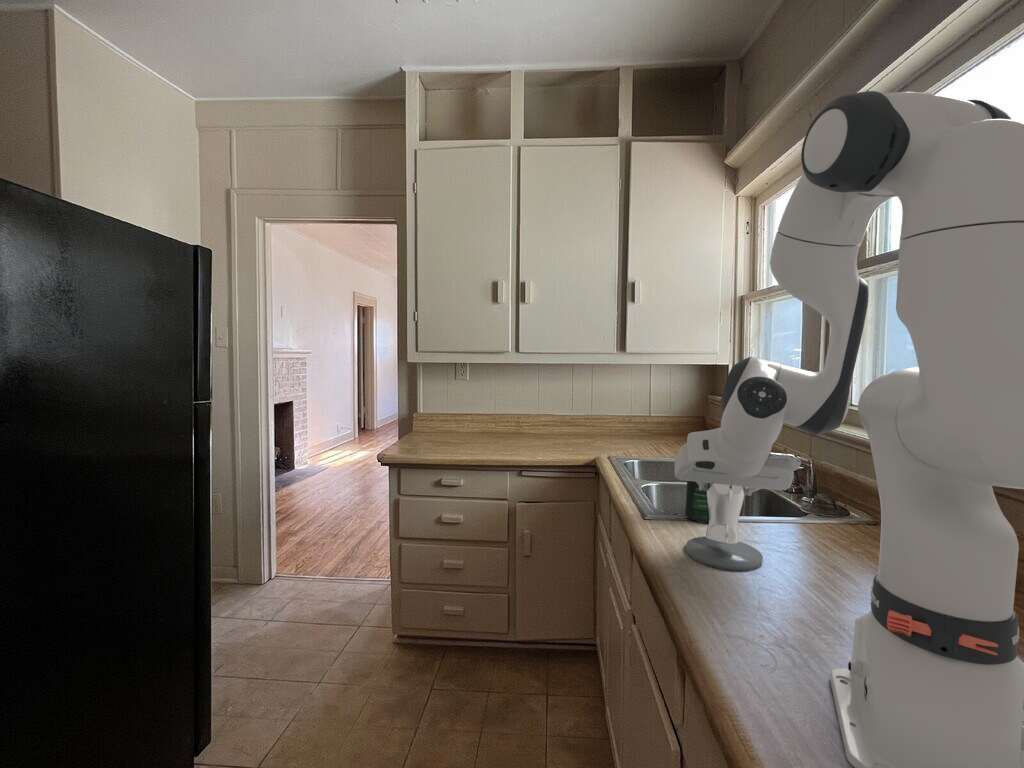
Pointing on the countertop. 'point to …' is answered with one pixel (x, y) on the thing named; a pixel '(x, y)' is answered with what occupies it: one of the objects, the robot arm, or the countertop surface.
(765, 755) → the countertop surface
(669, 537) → the countertop surface
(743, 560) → the coaster
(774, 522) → the countertop surface
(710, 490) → the beer glass
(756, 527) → the countertop surface
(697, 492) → the coffee jar
